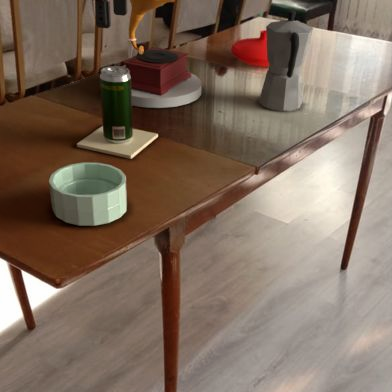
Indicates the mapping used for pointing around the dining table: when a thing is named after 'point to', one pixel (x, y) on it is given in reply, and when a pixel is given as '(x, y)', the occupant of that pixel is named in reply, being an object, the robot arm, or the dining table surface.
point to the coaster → (122, 150)
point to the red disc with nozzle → (252, 50)
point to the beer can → (116, 104)
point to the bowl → (88, 193)
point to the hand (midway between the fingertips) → (112, 21)
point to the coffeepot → (285, 63)
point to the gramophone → (158, 68)
